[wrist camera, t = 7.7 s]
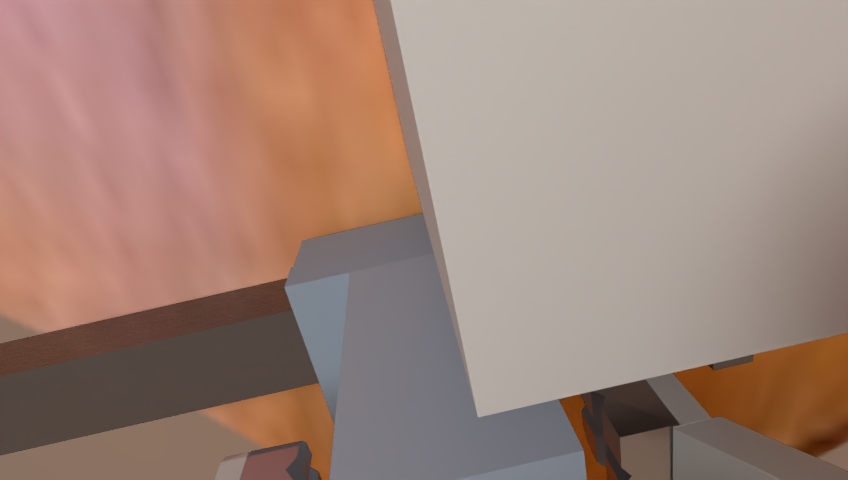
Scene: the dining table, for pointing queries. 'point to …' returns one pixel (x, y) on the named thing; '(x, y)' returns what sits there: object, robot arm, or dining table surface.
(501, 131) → the cabinet
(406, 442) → the block
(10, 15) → the dining table surface
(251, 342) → the rail
